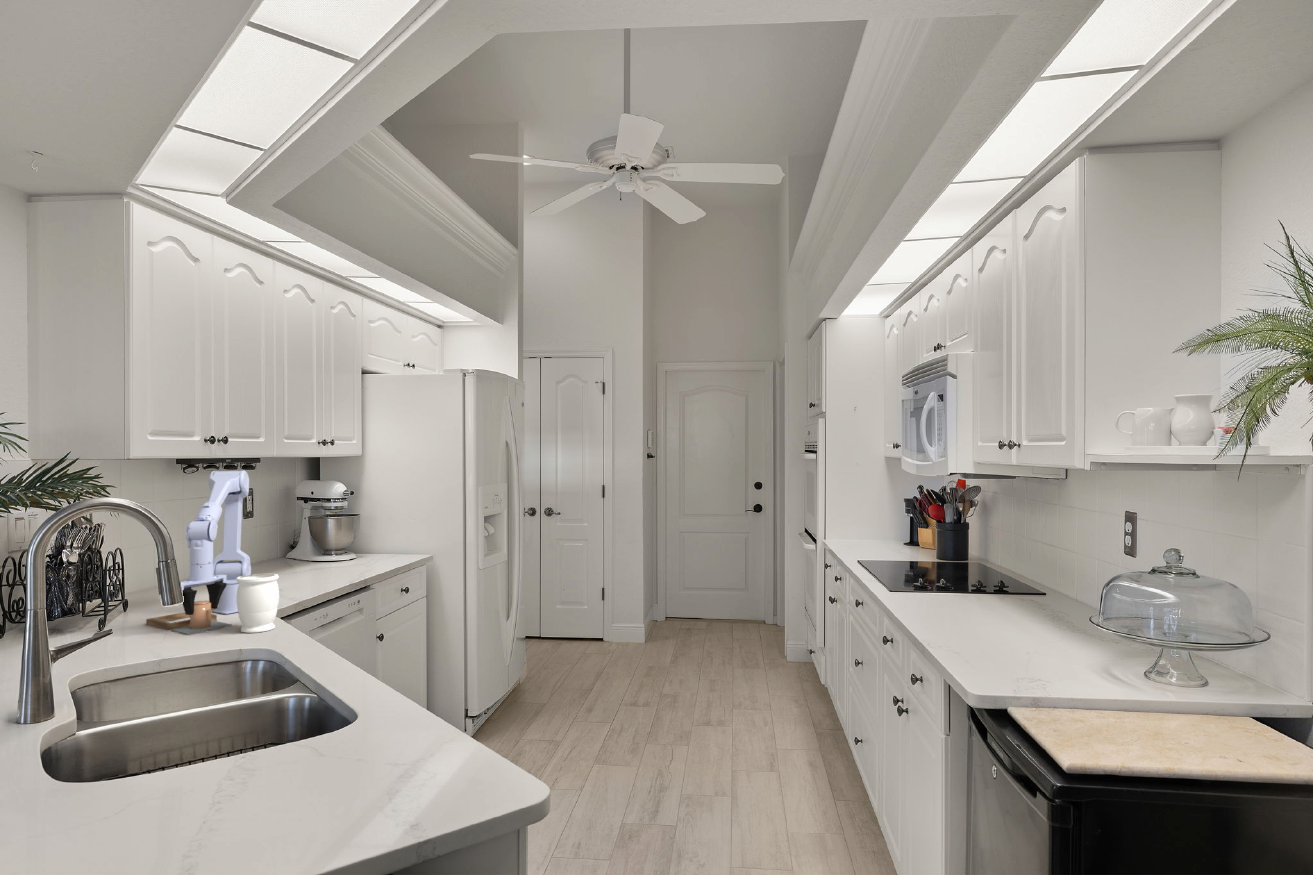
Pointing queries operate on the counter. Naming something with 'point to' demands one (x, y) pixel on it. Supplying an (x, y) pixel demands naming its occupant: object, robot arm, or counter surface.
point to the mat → (213, 626)
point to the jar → (257, 602)
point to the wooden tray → (163, 623)
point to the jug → (201, 615)
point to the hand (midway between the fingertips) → (201, 611)
